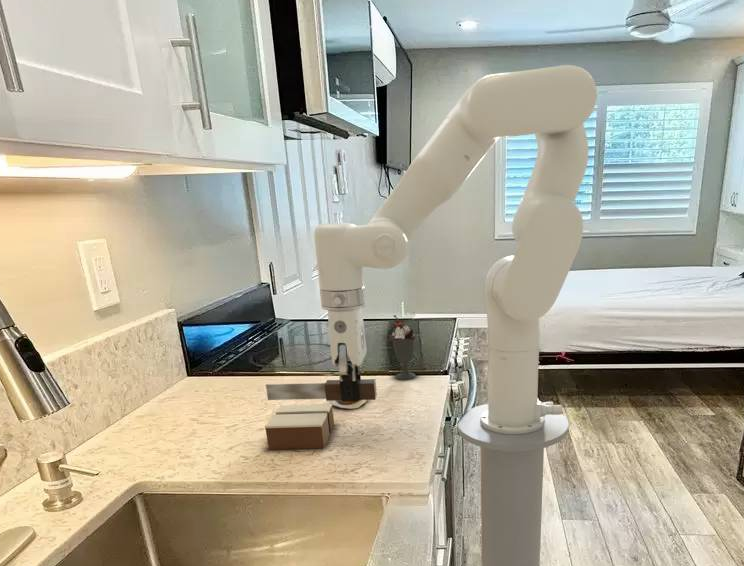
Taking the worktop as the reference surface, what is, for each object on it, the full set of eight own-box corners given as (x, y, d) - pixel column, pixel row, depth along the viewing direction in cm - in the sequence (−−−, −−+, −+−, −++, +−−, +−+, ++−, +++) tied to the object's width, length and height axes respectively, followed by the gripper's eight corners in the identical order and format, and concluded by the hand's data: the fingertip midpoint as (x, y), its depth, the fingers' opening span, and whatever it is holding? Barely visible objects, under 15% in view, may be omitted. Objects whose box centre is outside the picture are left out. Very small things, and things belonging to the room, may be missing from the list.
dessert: (356, 408, 118) (340, 384, 118) (335, 422, 121) (320, 399, 121) (375, 398, 125) (360, 375, 125) (355, 411, 128) (340, 389, 128)
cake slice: (334, 425, 112) (331, 403, 110) (331, 432, 109) (328, 410, 107) (283, 427, 112) (280, 405, 110) (278, 434, 109) (275, 412, 107)
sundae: (391, 373, 142) (387, 313, 136) (418, 371, 142) (415, 311, 137) (391, 381, 136) (387, 319, 130) (419, 379, 136) (416, 317, 130)
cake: (329, 435, 108) (327, 412, 106) (324, 448, 102) (321, 424, 101) (277, 436, 108) (273, 414, 106) (268, 449, 103) (264, 426, 101)
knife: (376, 395, 106) (375, 379, 105) (375, 399, 104) (374, 383, 103) (270, 397, 107) (267, 381, 105) (266, 402, 104) (263, 385, 103)
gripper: (357, 307, 91) (366, 413, 98) (370, 289, 106) (377, 383, 113) (311, 308, 91) (322, 414, 98) (330, 290, 106) (339, 384, 113)
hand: (351, 397), depth 105 cm, fingers closed on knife, 2 cm apart
